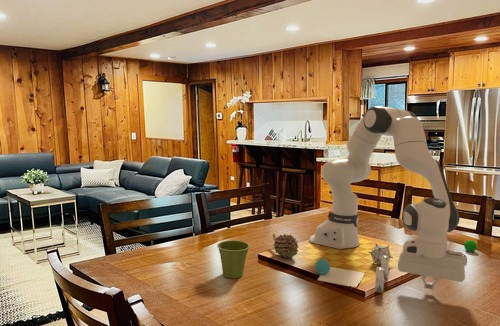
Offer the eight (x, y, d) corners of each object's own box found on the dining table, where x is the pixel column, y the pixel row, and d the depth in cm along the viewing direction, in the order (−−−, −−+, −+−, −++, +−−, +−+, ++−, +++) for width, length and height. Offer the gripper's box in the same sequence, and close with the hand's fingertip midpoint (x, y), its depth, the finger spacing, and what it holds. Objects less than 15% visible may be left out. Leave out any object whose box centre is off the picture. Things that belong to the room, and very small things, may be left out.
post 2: (379, 278, 144) (380, 257, 143) (380, 275, 146) (381, 254, 145) (387, 279, 143) (388, 258, 142) (388, 277, 145) (389, 255, 144)
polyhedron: (471, 253, 171) (471, 243, 171) (461, 250, 176) (461, 239, 175) (479, 252, 173) (479, 241, 173) (468, 248, 178) (469, 238, 177)
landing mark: (317, 280, 142) (317, 279, 142) (327, 266, 154) (327, 266, 154) (357, 288, 136) (357, 287, 136) (364, 273, 148) (364, 273, 148)
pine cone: (304, 261, 159) (305, 237, 158) (283, 264, 156) (284, 240, 155) (280, 244, 180) (280, 223, 178) (260, 247, 176) (260, 225, 175)
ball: (321, 280, 145) (310, 269, 146) (326, 274, 150) (314, 263, 151) (330, 270, 143) (318, 259, 144) (334, 264, 147) (323, 254, 149)
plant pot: (237, 284, 137) (238, 252, 136) (210, 276, 144) (210, 246, 142) (255, 273, 147) (255, 243, 146) (229, 266, 154) (229, 238, 152)
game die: (380, 275, 156) (377, 260, 150) (366, 261, 162) (362, 246, 156) (398, 263, 157) (396, 248, 151) (383, 249, 164) (381, 234, 158)
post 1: (374, 292, 133) (375, 269, 132) (375, 289, 135) (376, 266, 134) (382, 293, 132) (383, 270, 131) (383, 290, 134) (384, 267, 133)
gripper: (467, 250, 129) (463, 291, 131) (400, 240, 138) (397, 279, 139) (468, 256, 123) (464, 298, 125) (398, 246, 132) (395, 286, 134)
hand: (429, 288), depth 132 cm, fingers closed
